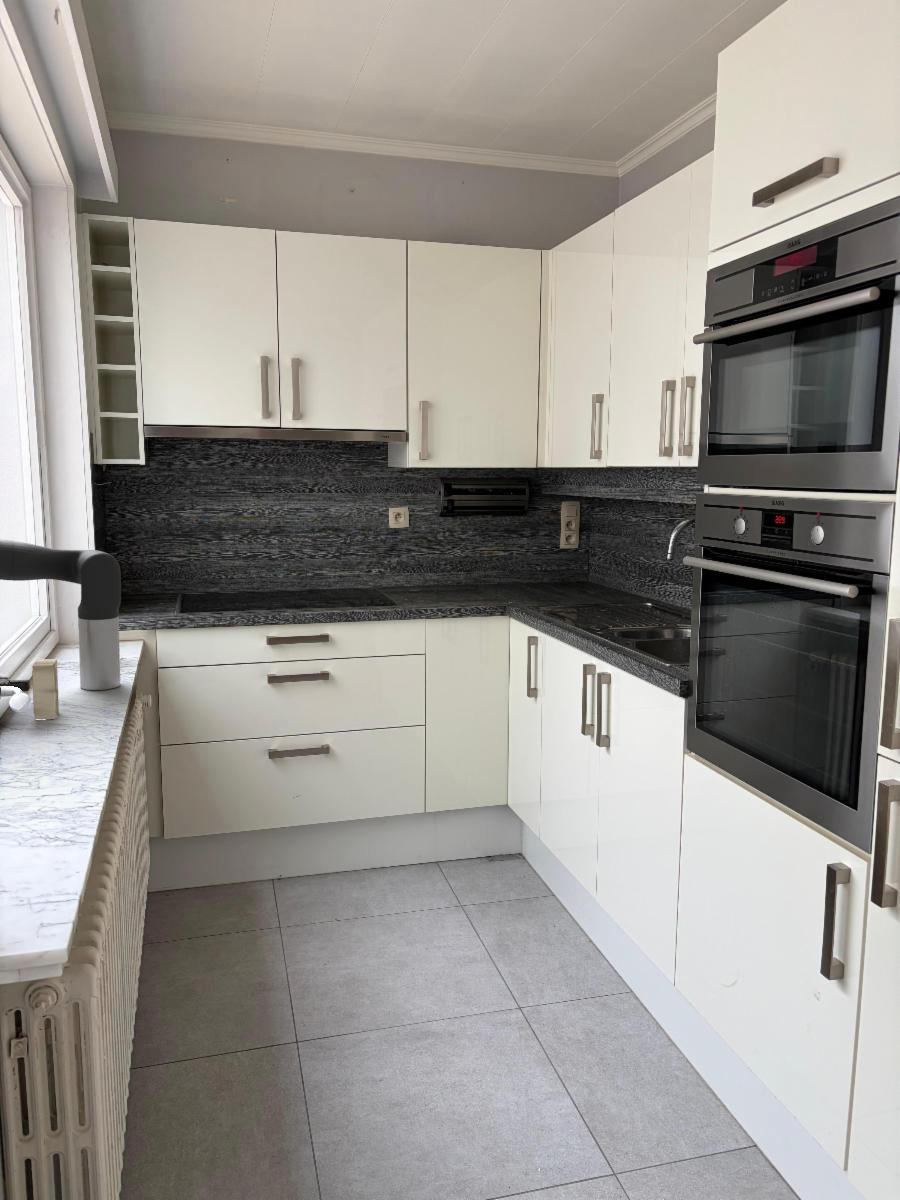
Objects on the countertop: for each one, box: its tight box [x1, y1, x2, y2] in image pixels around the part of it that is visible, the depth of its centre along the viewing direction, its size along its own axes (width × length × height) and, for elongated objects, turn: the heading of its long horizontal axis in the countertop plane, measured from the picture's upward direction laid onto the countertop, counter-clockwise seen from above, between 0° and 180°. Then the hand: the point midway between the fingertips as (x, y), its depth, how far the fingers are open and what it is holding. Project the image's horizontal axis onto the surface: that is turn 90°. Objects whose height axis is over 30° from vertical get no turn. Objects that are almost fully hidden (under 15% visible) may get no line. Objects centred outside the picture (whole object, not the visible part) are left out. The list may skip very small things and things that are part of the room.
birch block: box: [31, 658, 60, 720], centre depth 198 cm, size 6×4×12 cm
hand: (29, 685), depth 197 cm, fingers closed
